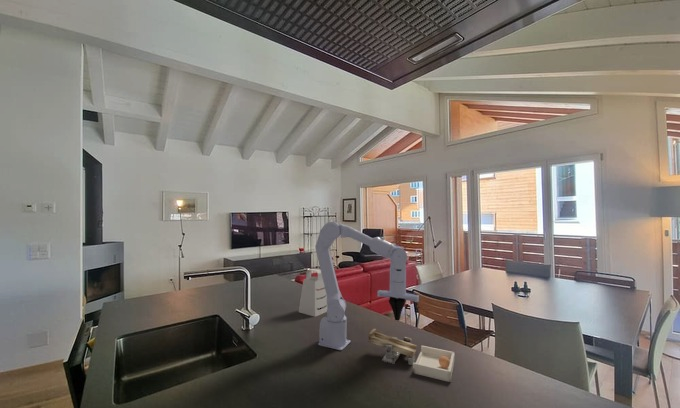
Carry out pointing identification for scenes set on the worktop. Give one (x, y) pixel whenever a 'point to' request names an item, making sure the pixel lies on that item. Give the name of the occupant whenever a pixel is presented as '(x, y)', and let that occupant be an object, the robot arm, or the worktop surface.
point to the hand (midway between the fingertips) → (397, 319)
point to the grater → (313, 295)
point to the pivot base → (394, 355)
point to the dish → (434, 363)
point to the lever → (393, 343)
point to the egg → (444, 361)
